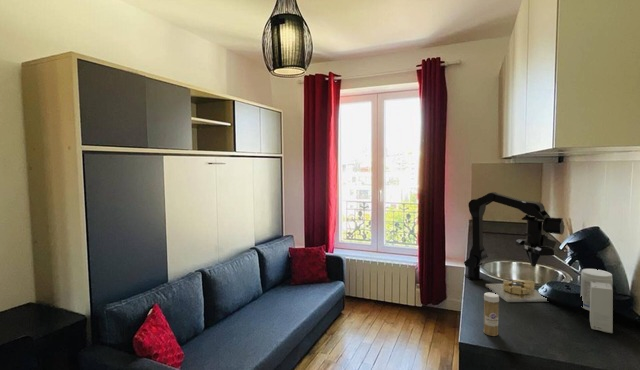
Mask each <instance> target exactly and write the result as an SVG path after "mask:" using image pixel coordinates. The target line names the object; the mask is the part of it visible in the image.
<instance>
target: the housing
mask: <svg viewBox="0 0 640 370" xmlns="http://www.w3.org/2000/svg"><path fill="white" fill-rule="evenodd" d="M511 282H512V281H511ZM521 283H522V282H521ZM521 283H518V282H512V285H513V286H520V287H521ZM485 287H486V288H487V289H488V288H489V291H491V290H492V291H491V292H492V293H496V294H497V295H499V298H501V299H502V300H504V301H506V302H507V303H526V302H527V303H528V302H529V303H530V302H534V303H537V302H548V301H547V298H545V297H543V296H541V295H540V294H539V292H540V291H539V290H537V289H535V288H534V289H530V293H529V294H524V295H522V294H521V295H520V294H514V293H510V292H507V291H505V290H504V289H503V283H485Z"/></svg>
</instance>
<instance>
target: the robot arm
mask: <svg viewBox="0 0 640 370" xmlns="http://www.w3.org/2000/svg"><path fill="white" fill-rule="evenodd" d="M493 202H495V203H496V204H497V203H498V204H501V205H504V206H507V207H511V208H514V209H517V210H519V211H520V212H522V213H524V214H525V216H523V217H522V218H521V220H522V221H526V231H525V232H524V236H526V238H518V239H516V240H515V246H517V247H521V246H523V247H524V248H522V251H523V252H524V253H525V255H526V258H527V259H528V261H529V263H530V265H531V267H536V265H537V263H538V262H539V258H540V257H541V256H549V257H551V256H553V257H555V254H556V253H555V251H556V250H554V249H555V248H556V244H557V241H555V240H552V239H549V238H548V236H547V235H546V234H544V233H543V232H545V233H547V234H552V235H554V234H555V235H563V234H564V233H565V223H564V218H562V217H552V216H550V215H549V213H548V212H547V210H546V209H545V206H544V204H543V203H542V202H540V201H534V200H533V201H531V200H522V199H518V198H515V197H512V196H508V195H504V194H501V193H498V192H495V191H492V192H489V193H487V194H484V195H483V196H481V197H478V198H474V199H470V200H469V202H468V210H469V211H468V212H469V214H470V215H471V223H472V224H471V229H472V230H471V231H472V232H471V233H472V234H471V235H472V242H471V243H472V246H471V248H470V250H469V254H468V255H469V256H468V258H467V259H466V260H465V261H463V264H464V267H467V268H466V269H467V274H464V276H465V277H466V278H467V279H469V280H470V281H472V280H475V281H476V280H477V281H478V280H479V281H480V280H481V281H482V280H484V278H483V277H482V276H481V266H483V264H484V263H485V262H486V261H487V258H488V257H489V256H488V251H489V250H488V249H485V247H484V240H483V239H484V233H483V232H484V229H483V227H484V225H483V224H484V222H483V221H484V220H483V219H484V218H483V217H484V214H485V212H486V209H487V208H486V207H487V206H488V205H491V203H493Z"/></svg>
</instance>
